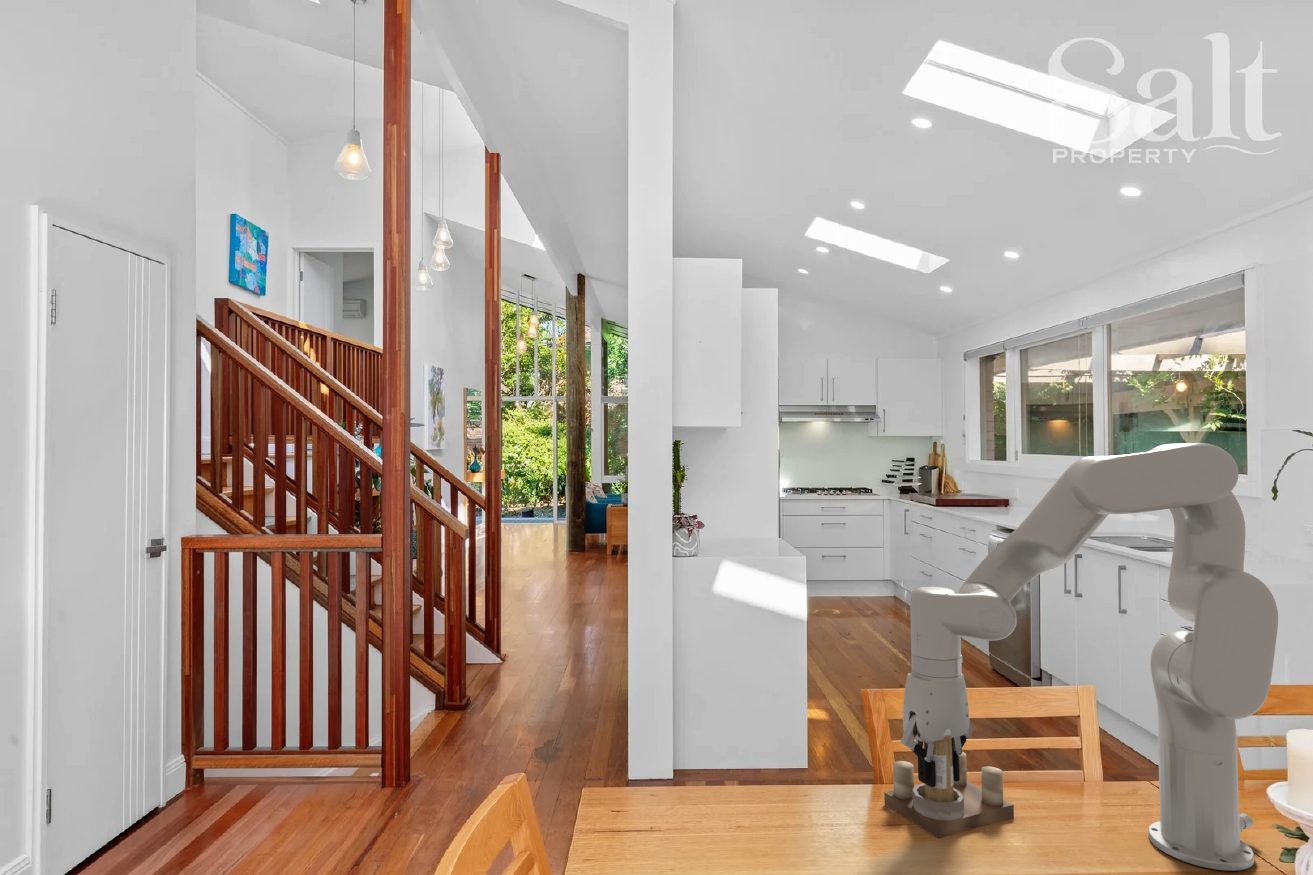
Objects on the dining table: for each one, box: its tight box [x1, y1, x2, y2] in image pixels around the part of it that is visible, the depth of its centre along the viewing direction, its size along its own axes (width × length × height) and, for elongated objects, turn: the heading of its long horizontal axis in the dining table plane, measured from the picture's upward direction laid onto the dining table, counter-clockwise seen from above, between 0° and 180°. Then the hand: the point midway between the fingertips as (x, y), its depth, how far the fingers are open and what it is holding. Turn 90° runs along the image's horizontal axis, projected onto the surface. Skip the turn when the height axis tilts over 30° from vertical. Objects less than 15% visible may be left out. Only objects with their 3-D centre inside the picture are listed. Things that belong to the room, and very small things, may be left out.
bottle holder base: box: [883, 751, 1015, 839], centre depth 121 cm, size 16×12×7 cm
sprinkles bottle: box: [923, 729, 954, 802], centre depth 117 cm, size 5×5×13 cm
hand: (938, 779), depth 117 cm, fingers closed on sprinkles bottle, 4 cm apart
